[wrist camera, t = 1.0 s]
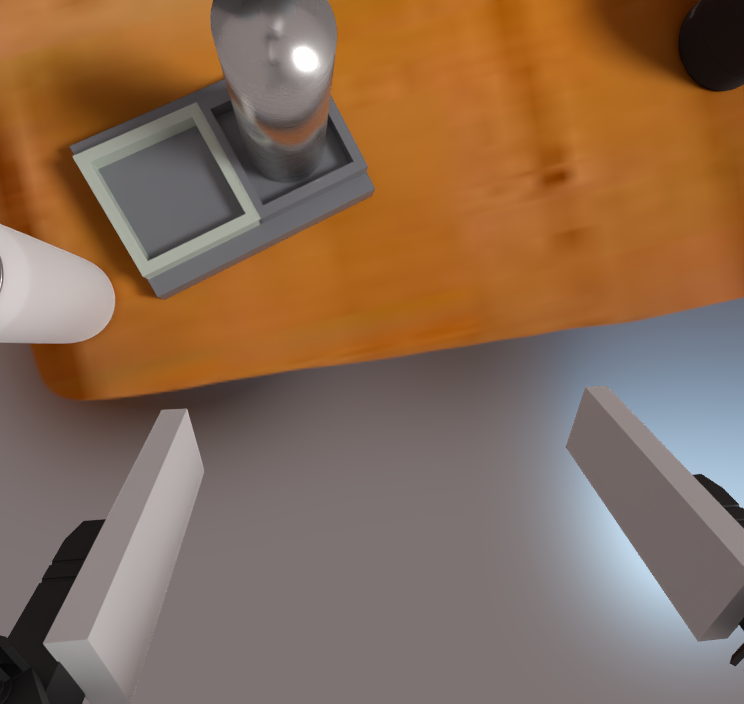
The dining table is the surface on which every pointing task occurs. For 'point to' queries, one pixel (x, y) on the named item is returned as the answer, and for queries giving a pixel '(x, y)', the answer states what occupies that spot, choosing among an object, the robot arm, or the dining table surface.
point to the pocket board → (208, 188)
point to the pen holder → (714, 43)
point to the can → (49, 293)
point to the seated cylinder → (278, 79)
